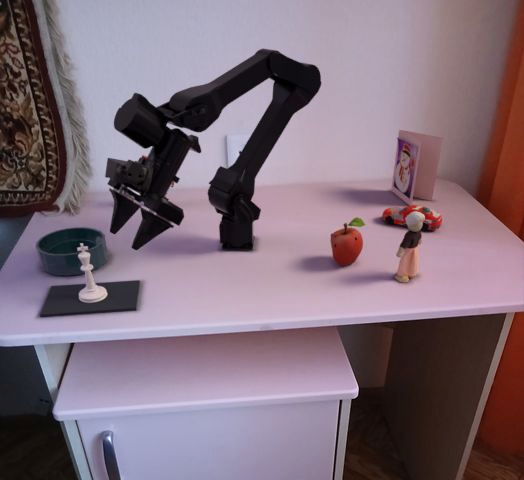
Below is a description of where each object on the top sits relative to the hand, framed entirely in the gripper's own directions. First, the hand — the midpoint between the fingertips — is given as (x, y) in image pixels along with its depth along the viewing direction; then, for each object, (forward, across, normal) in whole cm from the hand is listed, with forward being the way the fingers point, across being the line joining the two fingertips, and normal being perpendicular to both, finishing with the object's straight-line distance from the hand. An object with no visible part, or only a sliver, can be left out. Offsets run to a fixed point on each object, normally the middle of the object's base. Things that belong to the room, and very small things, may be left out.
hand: (122, 241), depth 96 cm
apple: (-17, +19, +34) cm, 43 cm away
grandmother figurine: (-20, +30, +38) cm, 53 cm away
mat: (+12, +2, -1) cm, 12 cm away
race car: (-33, +14, +53) cm, 64 cm away
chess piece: (+11, +2, -1) cm, 11 cm away
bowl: (+9, -14, +1) cm, 17 cm away
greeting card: (-42, +3, +63) cm, 76 cm away
